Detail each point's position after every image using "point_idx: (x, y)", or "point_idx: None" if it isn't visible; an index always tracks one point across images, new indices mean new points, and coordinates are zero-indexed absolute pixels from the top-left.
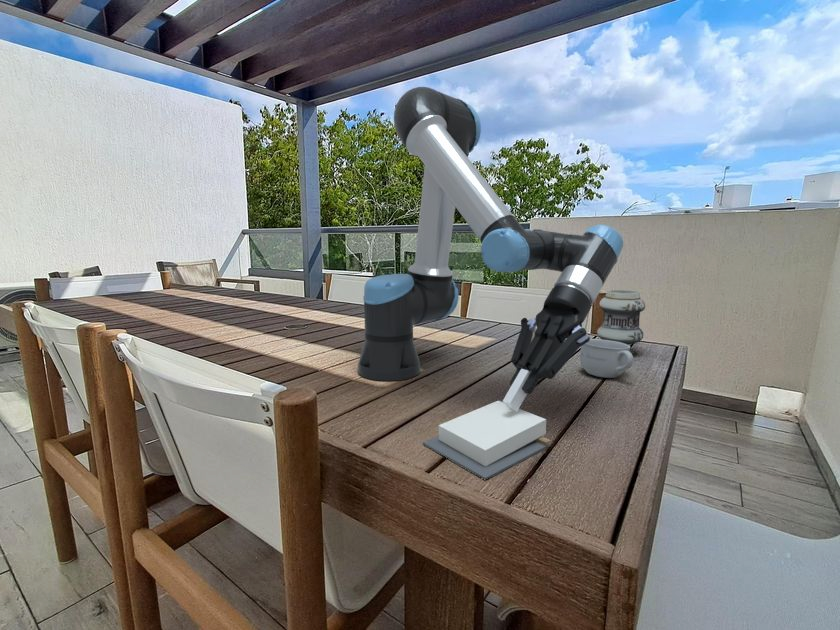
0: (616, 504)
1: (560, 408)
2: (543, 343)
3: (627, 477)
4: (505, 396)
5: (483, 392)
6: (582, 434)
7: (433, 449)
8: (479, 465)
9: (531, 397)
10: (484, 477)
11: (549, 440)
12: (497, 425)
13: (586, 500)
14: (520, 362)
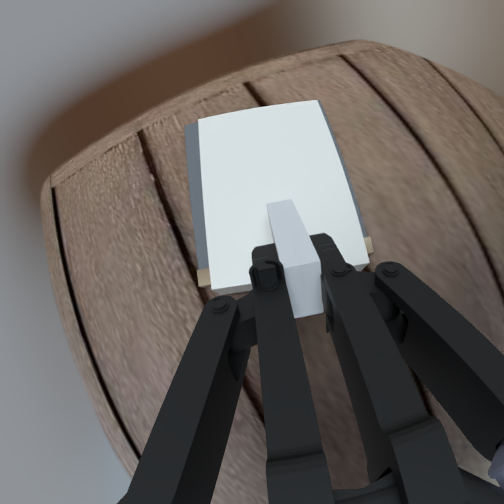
0: (66, 242)
1: (331, 451)
2: (369, 446)
3: (83, 313)
4: (294, 205)
5: None
6: None
7: None
8: None
9: None
10: (185, 125)
11: (199, 283)
12: (255, 177)
13: (87, 215)
14: (351, 276)
